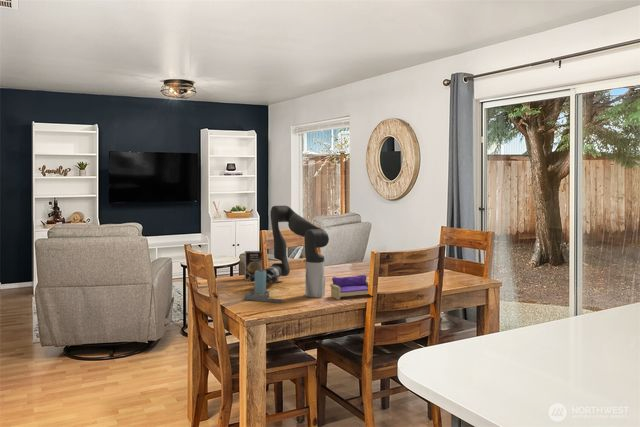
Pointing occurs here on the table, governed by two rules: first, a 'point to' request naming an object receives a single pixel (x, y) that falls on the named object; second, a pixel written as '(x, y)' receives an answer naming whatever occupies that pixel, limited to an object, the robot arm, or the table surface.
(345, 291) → the toy sofa
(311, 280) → the robot arm
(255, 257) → the coffee box
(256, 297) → the rail bay
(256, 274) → the block
